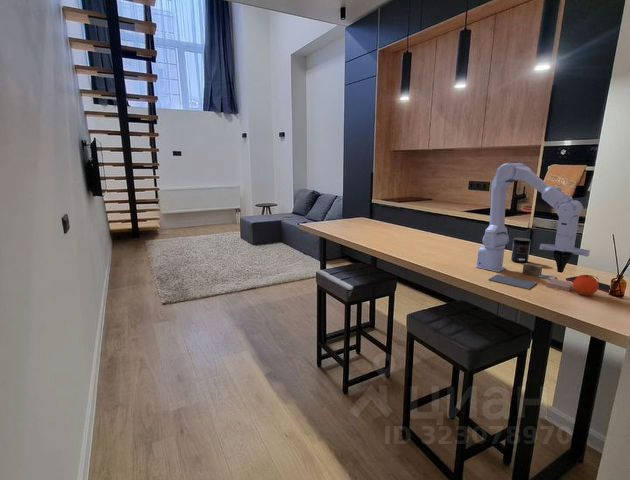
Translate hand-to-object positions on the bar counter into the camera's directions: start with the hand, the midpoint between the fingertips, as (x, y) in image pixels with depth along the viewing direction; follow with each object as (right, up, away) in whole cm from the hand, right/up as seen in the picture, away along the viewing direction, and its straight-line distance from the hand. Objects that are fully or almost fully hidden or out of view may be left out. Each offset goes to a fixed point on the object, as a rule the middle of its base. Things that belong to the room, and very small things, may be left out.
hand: (560, 271), depth 127 cm
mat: (-14, -4, +6) cm, 16 cm away
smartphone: (+13, -5, +3) cm, 15 cm away
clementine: (+4, -7, -7) cm, 11 cm away
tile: (-2, -4, +3) cm, 6 cm away
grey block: (0, -3, +13) cm, 13 cm away
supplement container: (+4, +2, +33) cm, 33 cm away
